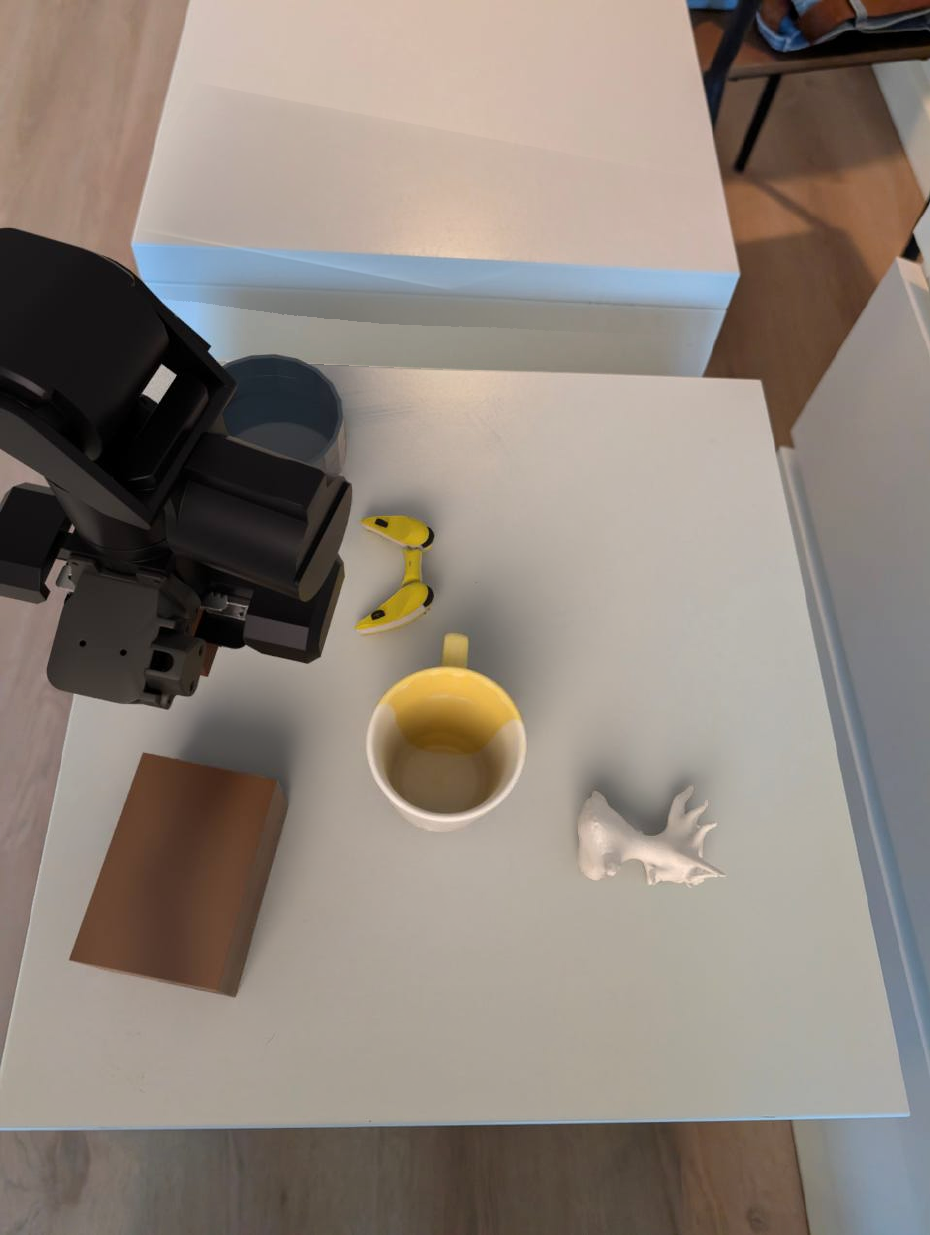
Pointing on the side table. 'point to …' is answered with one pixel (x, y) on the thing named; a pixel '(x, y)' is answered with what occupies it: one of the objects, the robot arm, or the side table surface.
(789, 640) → the side table surface
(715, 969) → the side table surface
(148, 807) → the stand
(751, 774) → the side table surface
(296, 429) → the bowl
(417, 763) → the mug
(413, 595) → the game controller
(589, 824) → the figurine
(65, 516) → the robot arm
